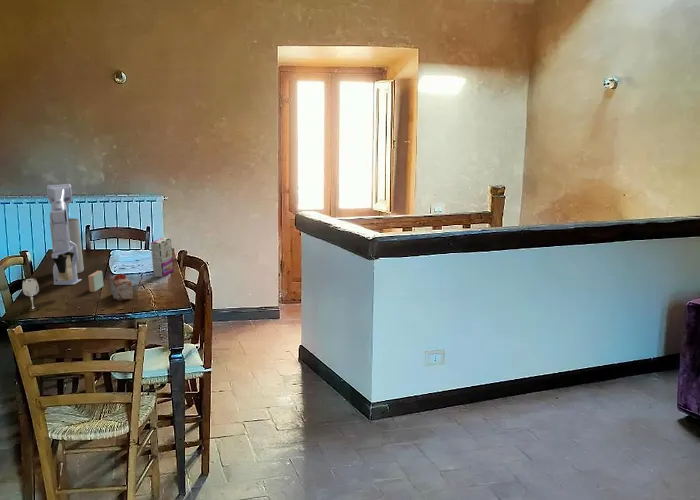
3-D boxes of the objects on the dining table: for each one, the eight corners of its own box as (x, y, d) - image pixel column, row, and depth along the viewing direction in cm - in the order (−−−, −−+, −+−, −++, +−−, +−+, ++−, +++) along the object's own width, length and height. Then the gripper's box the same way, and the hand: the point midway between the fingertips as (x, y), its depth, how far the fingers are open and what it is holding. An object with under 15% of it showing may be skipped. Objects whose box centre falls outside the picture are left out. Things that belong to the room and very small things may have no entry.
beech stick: (58, 280, 274) (56, 257, 272) (63, 278, 278) (60, 254, 275) (68, 280, 273) (65, 257, 271) (72, 278, 277) (70, 254, 275)
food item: (135, 299, 269) (133, 276, 267) (115, 303, 265) (113, 279, 263) (126, 292, 280) (124, 269, 278) (106, 295, 276) (104, 272, 274)
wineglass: (28, 308, 260) (24, 278, 258) (43, 307, 261) (40, 277, 258) (22, 312, 255) (18, 282, 252) (38, 311, 255) (34, 281, 253)
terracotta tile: (89, 291, 282) (88, 276, 280) (98, 286, 291) (97, 270, 289) (95, 291, 282) (93, 276, 280) (103, 286, 291) (102, 270, 289)
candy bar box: (164, 271, 315) (161, 237, 312) (174, 271, 314) (171, 237, 311) (152, 277, 304) (150, 242, 301) (162, 277, 303) (160, 242, 300)
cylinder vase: (77, 275, 310) (71, 222, 304) (50, 275, 310) (44, 223, 305) (88, 268, 322) (82, 218, 317) (62, 269, 322) (57, 218, 317)
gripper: (60, 235, 279) (64, 267, 282) (42, 242, 265) (46, 275, 268) (76, 235, 279) (80, 267, 282) (60, 242, 265) (63, 275, 267)
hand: (65, 271), depth 275 cm, fingers closed on beech stick, 4 cm apart
